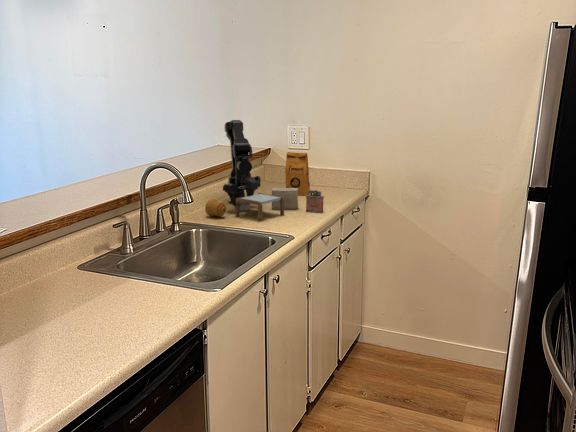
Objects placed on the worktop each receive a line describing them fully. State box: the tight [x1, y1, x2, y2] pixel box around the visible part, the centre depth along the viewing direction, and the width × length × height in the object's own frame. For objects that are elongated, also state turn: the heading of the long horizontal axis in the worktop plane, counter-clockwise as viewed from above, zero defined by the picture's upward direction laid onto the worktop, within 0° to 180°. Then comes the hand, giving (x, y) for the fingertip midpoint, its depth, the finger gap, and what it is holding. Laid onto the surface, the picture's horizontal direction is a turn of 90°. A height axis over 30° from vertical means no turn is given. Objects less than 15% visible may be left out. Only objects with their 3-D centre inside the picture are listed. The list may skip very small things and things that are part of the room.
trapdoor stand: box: [235, 192, 285, 223], centre depth 245 cm, size 15×14×8 cm
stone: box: [233, 197, 251, 212], centre depth 257 cm, size 5×5×5 cm
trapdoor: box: [242, 193, 281, 205], centre depth 244 cm, size 12×12×1 cm
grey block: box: [271, 187, 299, 210], centre depth 257 cm, size 12×4×10 cm, turn 89°
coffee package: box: [284, 151, 311, 197], centre depth 286 cm, size 10×12×22 cm
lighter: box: [305, 189, 325, 214], centre depth 252 cm, size 8×3×10 cm, turn 71°
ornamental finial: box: [204, 198, 227, 218], centre depth 242 cm, size 8×8×8 cm
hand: (242, 204), depth 257 cm, fingers open, 9 cm apart
